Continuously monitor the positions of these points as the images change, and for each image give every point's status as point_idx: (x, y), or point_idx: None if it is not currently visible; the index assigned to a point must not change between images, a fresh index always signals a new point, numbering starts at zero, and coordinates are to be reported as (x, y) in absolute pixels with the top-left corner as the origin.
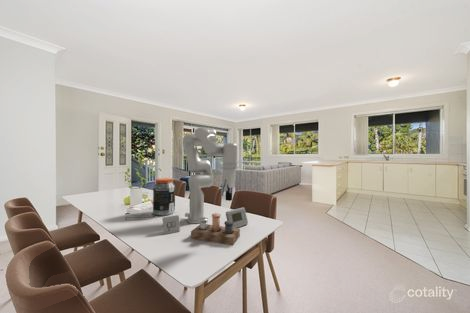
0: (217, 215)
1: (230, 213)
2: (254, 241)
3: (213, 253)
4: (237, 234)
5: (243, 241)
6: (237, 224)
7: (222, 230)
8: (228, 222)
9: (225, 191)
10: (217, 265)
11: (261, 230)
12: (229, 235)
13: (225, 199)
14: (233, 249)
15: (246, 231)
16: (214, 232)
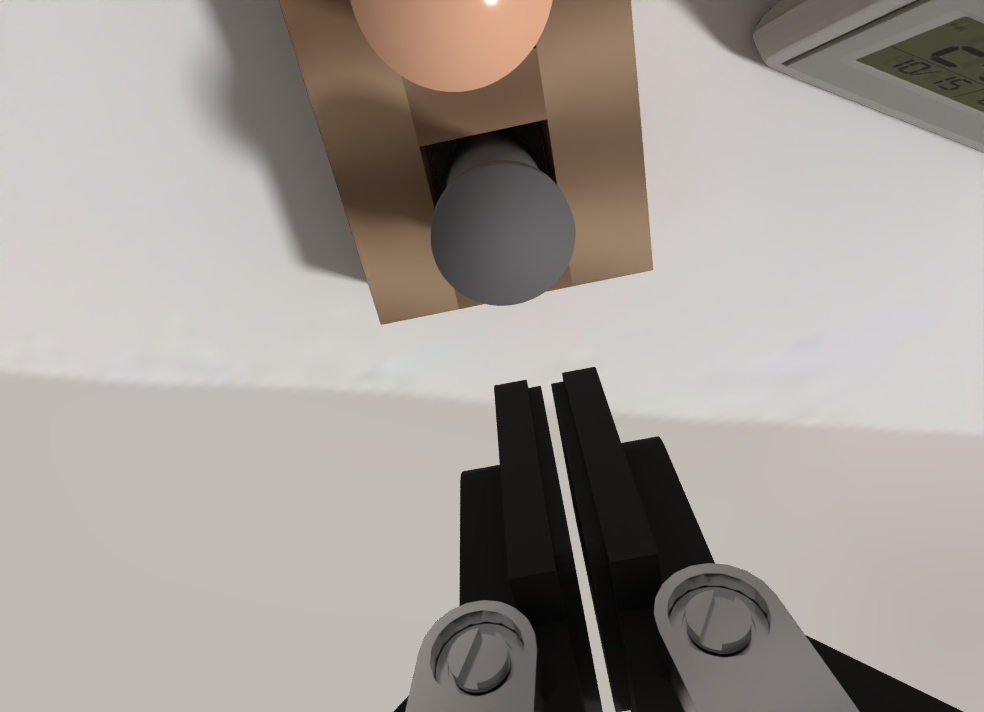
0: (422, 47)
1: (974, 3)
2: None
3: (134, 209)
4: None
5: (527, 329)
6: (887, 101)
7: (492, 91)
8: (494, 236)
9: (405, 699)
10: (29, 347)
11: (867, 369)
12: (407, 260)
13: (495, 389)
14: (328, 327)
15: (787, 246)
16: None
